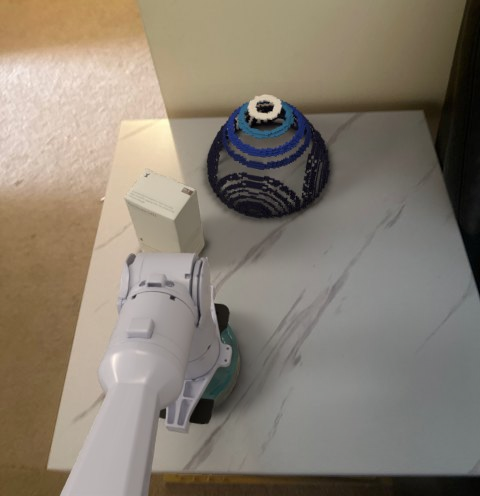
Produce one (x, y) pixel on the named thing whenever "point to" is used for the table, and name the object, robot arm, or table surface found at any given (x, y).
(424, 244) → the table surface
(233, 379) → the glazed bowl
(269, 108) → the decorative bowl
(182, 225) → the cosmetic box
